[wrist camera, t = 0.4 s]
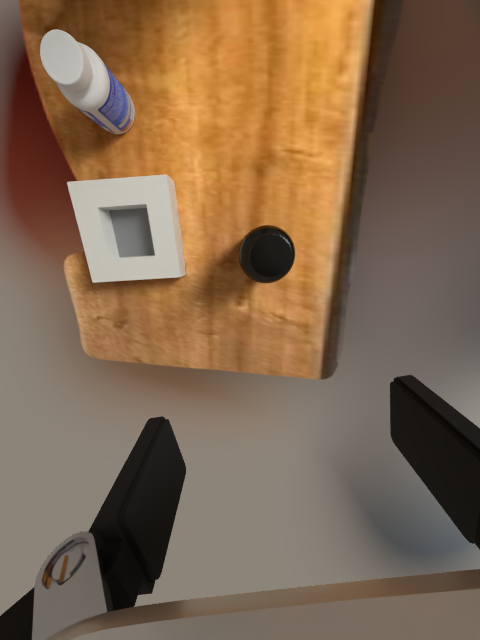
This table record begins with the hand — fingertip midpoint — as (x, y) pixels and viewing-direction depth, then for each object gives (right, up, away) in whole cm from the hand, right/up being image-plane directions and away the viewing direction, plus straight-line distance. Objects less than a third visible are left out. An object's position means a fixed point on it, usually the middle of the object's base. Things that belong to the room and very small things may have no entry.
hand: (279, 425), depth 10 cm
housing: (-17, +17, +26) cm, 35 cm away
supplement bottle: (+2, +15, +27) cm, 30 cm away
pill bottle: (-18, +32, +21) cm, 42 cm away
